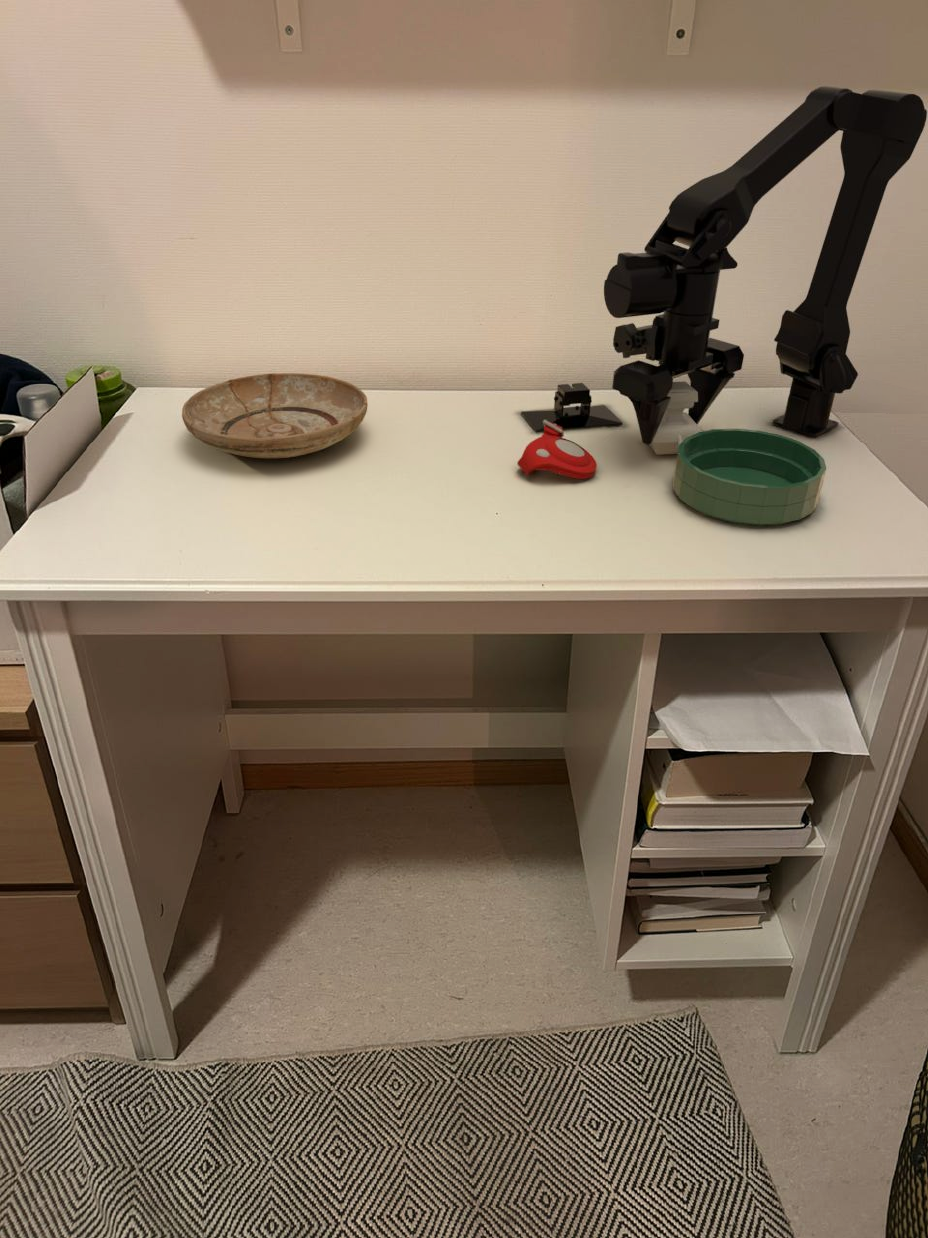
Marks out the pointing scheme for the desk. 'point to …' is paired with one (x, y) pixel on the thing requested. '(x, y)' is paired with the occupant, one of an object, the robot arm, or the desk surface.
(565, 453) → the tracker holder
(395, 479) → the desk surface
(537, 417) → the build plate
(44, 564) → the desk surface
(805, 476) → the green bowl
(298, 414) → the ceramic bowl
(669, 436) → the stamp
